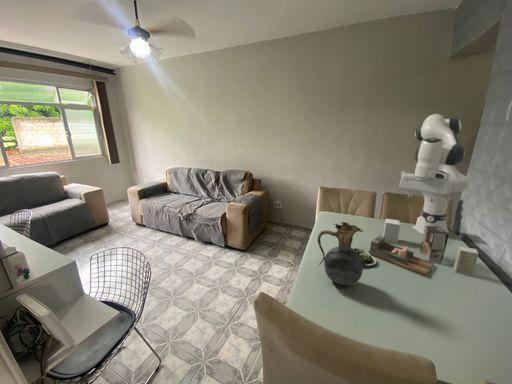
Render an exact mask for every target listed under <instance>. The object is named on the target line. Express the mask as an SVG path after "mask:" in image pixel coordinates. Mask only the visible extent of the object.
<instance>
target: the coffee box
mask: <svg viewBox="0 0 512 384" xmlns="http://www.w3.org/2000/svg"><path fill="white" fill-rule="evenodd" d="M448 233H449V232H448ZM448 233H447V232H445V231H444V230H443V229H441V228H440V227H438V226H425V229H424V234H422V241H421V245H420V251H419V253H420V254H421V255H422V257H424V258H425V260H426V261H429V262H432V263H443V259H444V256H445V252H446V248H447V243H448V240H449V237H448V236H450V233H449V234H448Z"/></svg>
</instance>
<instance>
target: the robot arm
mask: <svg viewBox="0 0 512 384" xmlns="http://www.w3.org/2000/svg"><path fill="white" fill-rule="evenodd" d="M462 126H463V125H462V122H461V120H460V119H459V118H458V117H449V118H445V116H443V115H442V114H440V113H439V114H438V113H434V114H431V115H429V116H427V117H426V118H425V119H424V121H423V123H422V124H420V125H418V126H417V127H416V128H415V131H414V137H415V138H416V140H417V141H418V142H421V143H420V145H419V146H418V147H417V148H416V149H415V155H414V160H415V161H417V162H416V165H415V169H414V170H404V171H401V173H400V180H399V184H398V187H399V188H400V189H405V190H406V193H407V199H412V198H413V196H414V194H412V193H411V191H416V192H417V191H418V192H421V193H422V195H423V197H424V198H423V199H424V203H423V208H422V210H421V215H420V216H418V217H417V220H416V223H415V225H412V229H413V230H415V231H416V232H418V233H419V234H421V235H423V234H424V229H425V226H438V227H440V228H441V229H443V230H444V231H445V232H447V233H448V234H449V236H450V233H449V228H448V227H447V225H448V224H447V221H446V219H447V209H448V205H449V203H448V200H447V199H446V198H444V197H442V196H441V195H443V196H447V195H449V194H450V193H460V192H464V191H465V190H466V189H468V188H469V185H470V181H469V180H470V179H469V178H468V177H467V176H466V175H465V174H463V173H461V172H460V171H458V170H457V168H456V167H455V166H457V165H458V164H460V163H462V162H463V160H464V158H465V155H466V154H465V149H464V147H463V145H461V143H460V142H461V141H460V140H459V137H458V135H459V134H460V132H461V129H462ZM449 236H448V238H449Z"/></svg>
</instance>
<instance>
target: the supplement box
mask: <svg viewBox="0 0 512 384" xmlns="http://www.w3.org/2000/svg"><path fill="white" fill-rule="evenodd" d="M384 221H385V222H384V227H383V232H382V233H383V234H382V236H384V237H385V242H386V243H389V244H392V245H397V244H398V240H399V234H400V227H401V222H400V220H399V219H393V218H392V219H391V218H385V220H384Z"/></svg>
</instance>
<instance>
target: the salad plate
mask: <svg viewBox="0 0 512 384" xmlns="http://www.w3.org/2000/svg"><path fill="white" fill-rule="evenodd" d="M351 249H352V250H353V251H355V252H356V253H357V254H358V255H359V256H360V258H361V260H362V265H363V268H372V267H375V266H376V265H377V259H376V257H374V256H371V255H370V254H369V253H368V251H367V250H365V249H363V248H360V247H355V248H354V247H351Z"/></svg>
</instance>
